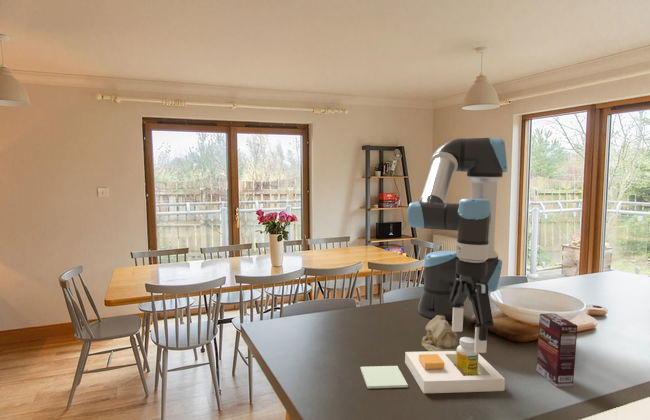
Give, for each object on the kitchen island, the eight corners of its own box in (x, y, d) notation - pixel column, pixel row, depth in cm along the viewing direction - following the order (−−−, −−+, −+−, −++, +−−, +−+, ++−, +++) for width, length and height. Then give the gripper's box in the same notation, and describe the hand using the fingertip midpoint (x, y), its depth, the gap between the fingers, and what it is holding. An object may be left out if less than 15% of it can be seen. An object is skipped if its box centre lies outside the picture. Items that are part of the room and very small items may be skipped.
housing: (405, 362, 113) (405, 352, 113) (474, 360, 115) (475, 350, 114) (423, 393, 97) (424, 381, 97) (504, 390, 99) (505, 378, 99)
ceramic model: (416, 339, 130) (417, 308, 129) (450, 338, 131) (451, 307, 130) (431, 359, 116) (433, 324, 115) (469, 358, 117) (471, 324, 116)
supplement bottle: (464, 368, 110) (466, 334, 109) (481, 377, 106) (483, 341, 105) (451, 373, 107) (452, 338, 106) (468, 382, 103) (470, 345, 102)
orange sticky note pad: (418, 370, 108) (418, 354, 107) (436, 370, 108) (437, 354, 108) (424, 380, 103) (425, 363, 102) (443, 379, 103) (444, 362, 103)
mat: (360, 368, 109) (360, 366, 109) (397, 367, 110) (397, 365, 110) (367, 388, 99) (367, 386, 99) (407, 387, 100) (407, 384, 100)
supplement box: (535, 370, 109) (538, 313, 108) (552, 370, 110) (556, 312, 108) (555, 387, 101) (560, 325, 99) (574, 387, 101) (578, 324, 100)
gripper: (439, 250, 116) (436, 323, 117) (480, 270, 91) (475, 363, 92) (465, 250, 116) (461, 323, 118) (512, 270, 91) (507, 362, 93)
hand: (467, 341), depth 105 cm, fingers open, 13 cm apart
